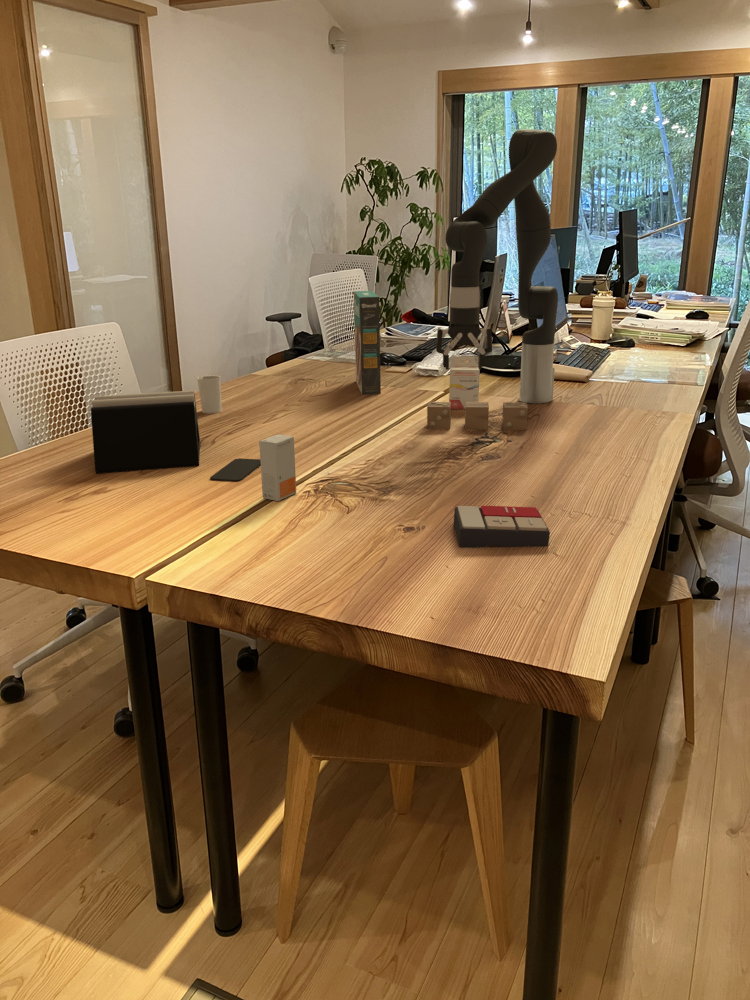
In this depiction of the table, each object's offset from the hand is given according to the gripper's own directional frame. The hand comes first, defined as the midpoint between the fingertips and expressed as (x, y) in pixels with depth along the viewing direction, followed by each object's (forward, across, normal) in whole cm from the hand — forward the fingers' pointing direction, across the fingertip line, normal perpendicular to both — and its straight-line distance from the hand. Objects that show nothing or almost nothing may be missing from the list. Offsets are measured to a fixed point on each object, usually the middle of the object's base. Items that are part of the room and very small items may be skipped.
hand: (463, 368), depth 203 cm
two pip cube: (+15, +13, -2) cm, 20 cm away
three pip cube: (+15, -6, 0) cm, 16 cm away
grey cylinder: (+15, -72, +22) cm, 76 cm away
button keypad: (+16, -1, -77) cm, 79 cm away
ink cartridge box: (+15, +2, +21) cm, 26 cm away
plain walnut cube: (+15, +4, -1) cm, 16 cm away
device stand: (+16, -76, -25) cm, 82 cm away
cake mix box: (+15, -26, +53) cm, 61 cm away
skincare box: (+15, -42, -55) cm, 71 cm away
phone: (+16, -54, -37) cm, 67 cm away
